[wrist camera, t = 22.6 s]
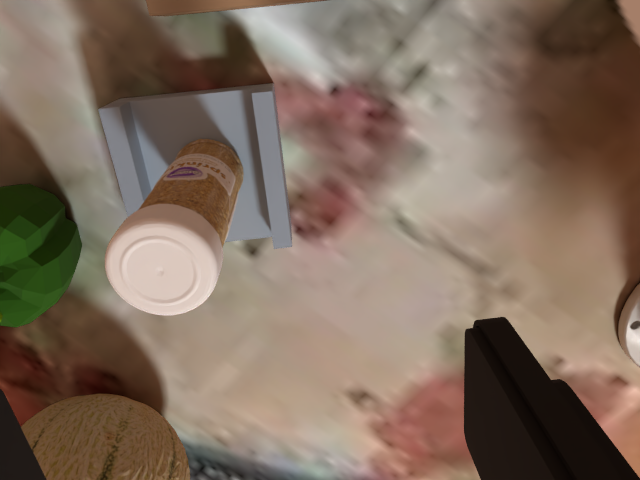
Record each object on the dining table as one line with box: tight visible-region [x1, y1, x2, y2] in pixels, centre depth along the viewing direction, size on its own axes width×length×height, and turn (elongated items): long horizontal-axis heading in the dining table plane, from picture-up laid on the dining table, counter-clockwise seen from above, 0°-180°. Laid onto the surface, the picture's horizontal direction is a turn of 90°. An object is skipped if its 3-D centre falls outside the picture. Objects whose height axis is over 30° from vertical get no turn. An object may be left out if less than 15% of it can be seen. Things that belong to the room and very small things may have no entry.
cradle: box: [98, 83, 292, 249], centre depth 32 cm, size 10×10×4 cm
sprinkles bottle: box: [105, 139, 244, 315], centre depth 25 cm, size 5×5×14 cm
